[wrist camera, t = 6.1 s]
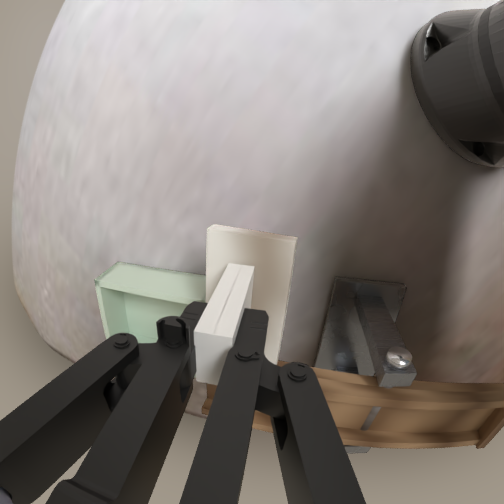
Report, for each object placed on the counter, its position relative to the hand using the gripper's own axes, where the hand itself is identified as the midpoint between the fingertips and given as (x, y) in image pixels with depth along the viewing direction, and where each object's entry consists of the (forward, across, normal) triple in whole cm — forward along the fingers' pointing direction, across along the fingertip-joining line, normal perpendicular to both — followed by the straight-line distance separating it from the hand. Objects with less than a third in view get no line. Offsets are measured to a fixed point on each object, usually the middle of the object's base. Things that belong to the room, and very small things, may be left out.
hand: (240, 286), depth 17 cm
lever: (0, +11, -5) cm, 12 cm away
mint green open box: (+9, -9, -9) cm, 16 cm away
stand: (+9, +11, -9) cm, 17 cm away
